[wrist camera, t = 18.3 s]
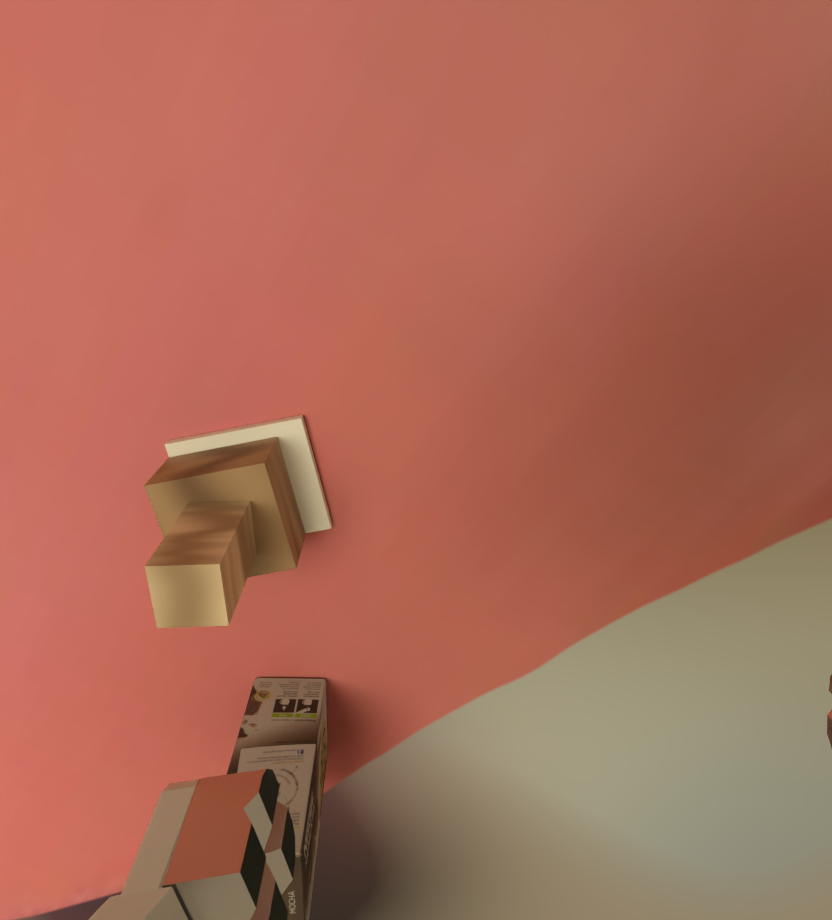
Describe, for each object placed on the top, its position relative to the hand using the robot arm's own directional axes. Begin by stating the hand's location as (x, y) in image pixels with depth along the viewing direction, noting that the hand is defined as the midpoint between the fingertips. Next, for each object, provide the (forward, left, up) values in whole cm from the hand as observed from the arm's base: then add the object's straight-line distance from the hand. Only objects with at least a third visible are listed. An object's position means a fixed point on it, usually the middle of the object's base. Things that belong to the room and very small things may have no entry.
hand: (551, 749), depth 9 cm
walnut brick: (+16, +10, -36) cm, 41 cm away
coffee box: (+18, +32, -37) cm, 52 cm away
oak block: (+16, +10, -31) cm, 36 cm away
